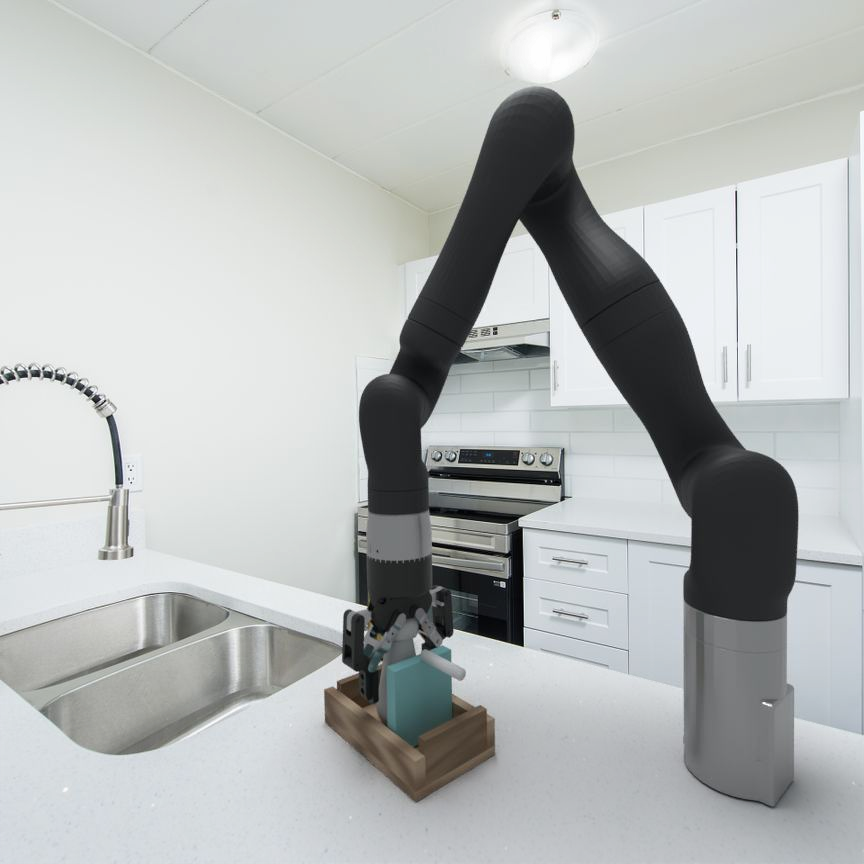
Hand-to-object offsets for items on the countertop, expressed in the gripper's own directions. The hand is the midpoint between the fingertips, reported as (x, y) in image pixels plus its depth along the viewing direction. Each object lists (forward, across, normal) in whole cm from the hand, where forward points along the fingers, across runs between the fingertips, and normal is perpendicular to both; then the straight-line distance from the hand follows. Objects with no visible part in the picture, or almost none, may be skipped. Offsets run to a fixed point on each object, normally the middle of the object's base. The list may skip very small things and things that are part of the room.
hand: (401, 687), depth 62 cm
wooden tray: (+6, 0, 0) cm, 6 cm away
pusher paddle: (+4, 0, -6) cm, 8 cm away
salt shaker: (+5, 0, 0) cm, 5 cm away
